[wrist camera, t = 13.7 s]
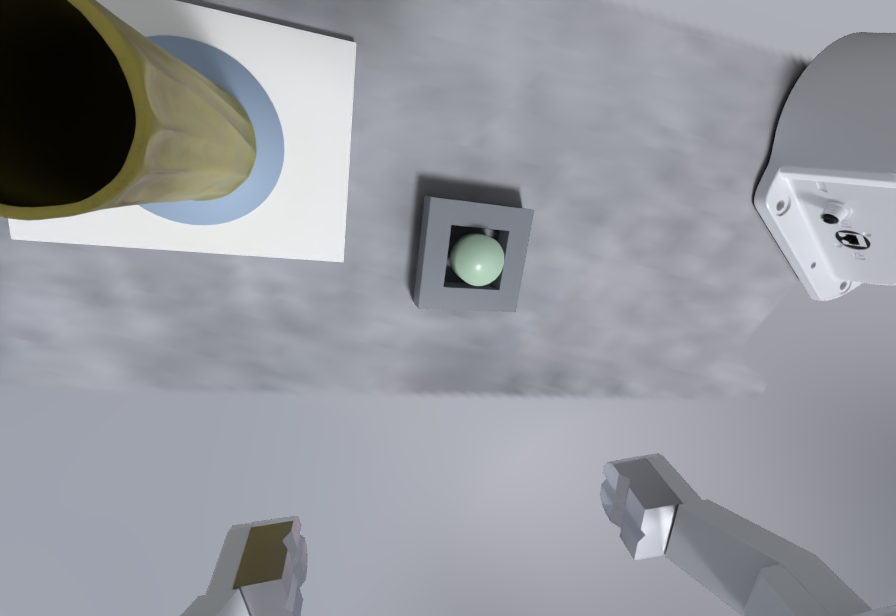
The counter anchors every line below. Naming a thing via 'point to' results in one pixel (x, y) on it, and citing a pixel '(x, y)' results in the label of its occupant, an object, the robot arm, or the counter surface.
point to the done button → (477, 259)
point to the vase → (107, 117)
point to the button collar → (435, 250)
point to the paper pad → (276, 131)
